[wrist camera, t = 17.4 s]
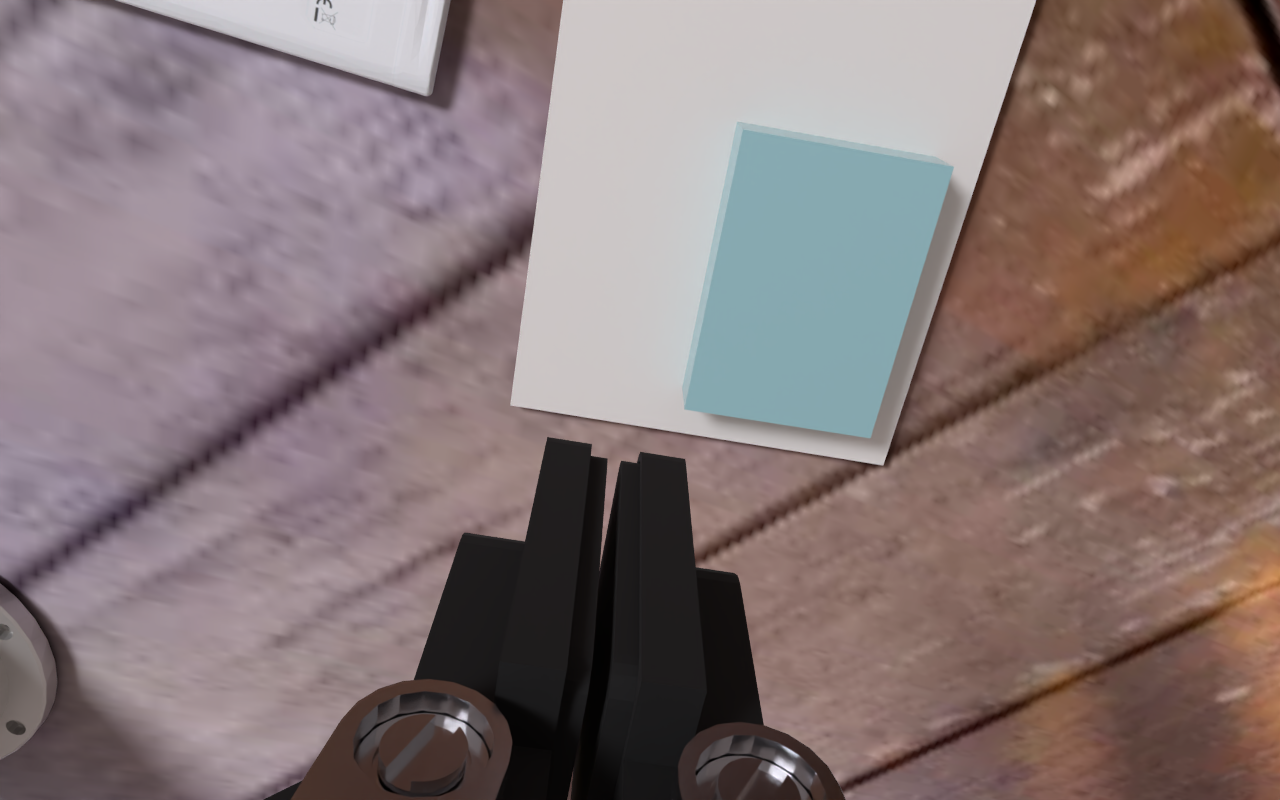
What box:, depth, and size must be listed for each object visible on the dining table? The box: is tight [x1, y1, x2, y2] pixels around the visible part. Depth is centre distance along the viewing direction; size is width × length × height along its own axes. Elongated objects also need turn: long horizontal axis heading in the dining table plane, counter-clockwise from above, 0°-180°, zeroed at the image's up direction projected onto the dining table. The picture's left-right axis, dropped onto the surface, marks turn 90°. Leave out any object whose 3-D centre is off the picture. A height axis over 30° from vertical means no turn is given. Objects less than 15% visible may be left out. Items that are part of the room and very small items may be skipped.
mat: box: [510, 0, 1036, 465], centre depth 32 cm, size 18×15×1 cm
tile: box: [682, 121, 954, 438], centre depth 32 cm, size 10×2×7 cm
